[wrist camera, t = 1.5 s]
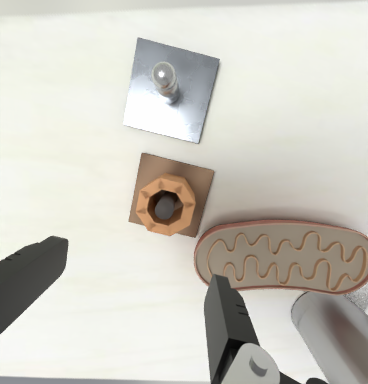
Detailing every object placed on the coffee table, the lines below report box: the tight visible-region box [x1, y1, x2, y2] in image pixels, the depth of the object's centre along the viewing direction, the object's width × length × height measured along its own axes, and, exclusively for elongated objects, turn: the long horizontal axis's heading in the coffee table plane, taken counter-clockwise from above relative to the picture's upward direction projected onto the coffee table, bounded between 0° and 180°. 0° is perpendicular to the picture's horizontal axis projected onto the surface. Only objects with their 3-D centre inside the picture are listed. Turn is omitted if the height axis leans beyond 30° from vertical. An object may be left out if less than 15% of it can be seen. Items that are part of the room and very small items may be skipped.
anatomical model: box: [194, 220, 368, 296], centre depth 26 cm, size 23×10×5 cm, turn 89°
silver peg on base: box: [124, 38, 220, 144], centre depth 21 cm, size 10×10×7 cm
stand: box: [129, 153, 214, 238], centre depth 24 cm, size 10×10×7 cm
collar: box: [136, 173, 196, 236], centre depth 24 cm, size 6×6×5 cm
